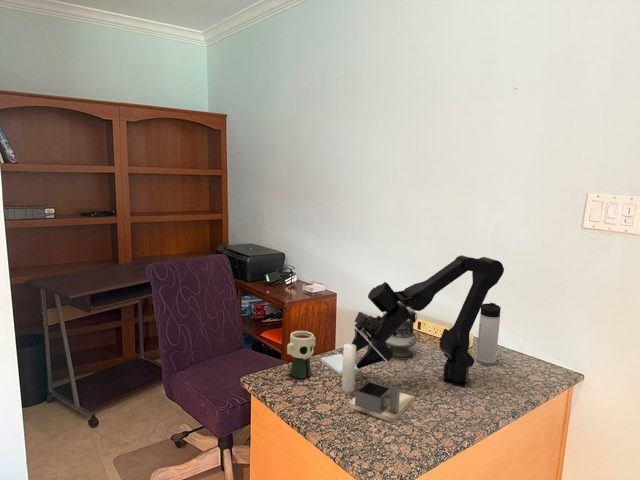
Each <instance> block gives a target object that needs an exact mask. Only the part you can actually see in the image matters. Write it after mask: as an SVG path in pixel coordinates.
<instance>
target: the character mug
mask: <svg viewBox="0 0 640 480" xmlns="http://www.w3.org/2000/svg"><path fill="white" fill-rule="evenodd" d="M314 347H316V336H314V333H312V332H309V331H308V330H307V331H306V330H295V331H293V332H291V333H290V336H289V343H288V344H287V345H286V353H287V355H290V356H291V357H292V361H291V367H290V376H293V377H295V378H297V379H306V378H307V376H308V378H309V377H310V376H311V375H312V372H311V371H312V370H311V369H312V368H311V361H310V359H311V357H312V356H313V354H314Z"/></svg>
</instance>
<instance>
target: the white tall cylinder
mask: <svg viewBox="0 0 640 480" xmlns="http://www.w3.org/2000/svg"><path fill="white" fill-rule="evenodd" d="M342 353H343V354H342V355H343V372H342V375H341V376H342V377H341V391H342V392H346V393H352V392H354V391H355V380H356V379H355V377H356V372H355V364H356V365H357V363H356V360H357V358H356V357H357V352H356V345H354V344H351V343H345V344H343V352H342Z"/></svg>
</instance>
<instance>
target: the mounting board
mask: <svg viewBox="0 0 640 480" xmlns="http://www.w3.org/2000/svg"><path fill="white" fill-rule="evenodd" d="M414 401H415V396H413V395H410V394H407V393H404V392H401V391H400V397H399V412H398V413H397V414H393V413H390V412H389V407H390V405H389V406H388V407H387V408H386V409H385V410H384V411H383V412H382V413H381V414H379V413H376V412H373V411H370V410H367V409H364V408H361V407H358V406H355V396H354V397H353V398H352V399H351V400H349V401H347V407H348V408H350V409H353V410H354V411H355V410H356V411H357V412H361V413H363V414H367V415H370V416H371V417H372V416H373V417H375V418H378V419H381V420H385V421H387V422H389V423H393V424H394V422H396V421H397V420H398V418H400V416H401V415H402V414H403V413H404V412H405V411H406V410H407V409H408V408H409V406H410V405H411V404H412V403H413V402H414Z"/></svg>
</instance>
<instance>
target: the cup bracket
mask: <svg viewBox="0 0 640 480" xmlns="http://www.w3.org/2000/svg"><path fill="white" fill-rule="evenodd" d="M400 392H401V388H400V387H397V386H395V385H393V386H392V387H389V386H386V385H383V384H380V383H376V382H372V381H370V380H368V381H366V382H365V383H364V384H362V385H361V386H360V387H359V388H357V389H356V390H355V395H354V397H355V406H358V407H361V408H364V409H367V410H370V411H373V412H376V413H379V414H381V413H382V412H383V411H384V410H385V409H386V408H387V407H388V406H389V405H390V407H389V412H390V413H393V414H397V413H398V412H399V397H400Z"/></svg>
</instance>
